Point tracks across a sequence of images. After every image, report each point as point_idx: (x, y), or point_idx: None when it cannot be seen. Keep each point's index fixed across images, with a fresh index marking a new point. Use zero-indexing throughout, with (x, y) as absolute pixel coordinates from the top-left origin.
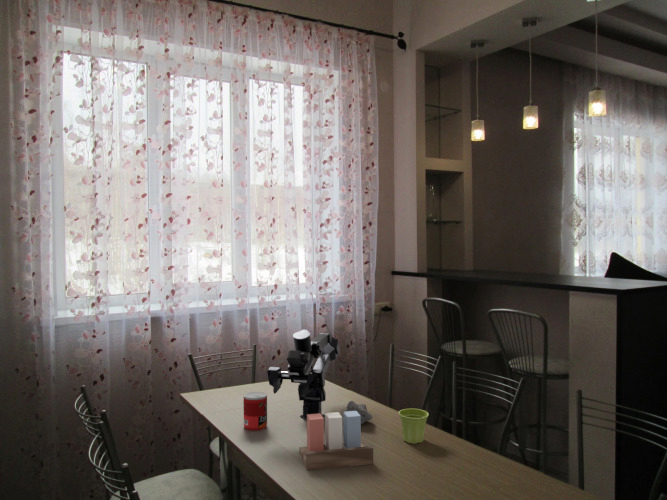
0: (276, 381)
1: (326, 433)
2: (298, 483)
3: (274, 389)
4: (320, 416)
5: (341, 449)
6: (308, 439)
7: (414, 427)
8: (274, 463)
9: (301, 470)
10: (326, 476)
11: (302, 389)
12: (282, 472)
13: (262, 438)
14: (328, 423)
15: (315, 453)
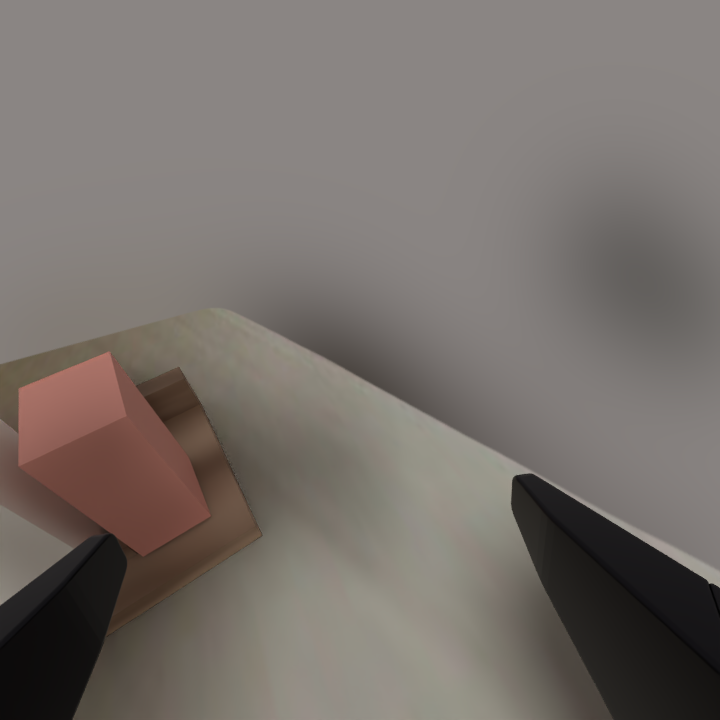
0: (706, 634)
1: (63, 516)
2: (213, 341)
3: (532, 485)
4: (31, 412)
5: None
6: (177, 458)
7: None
8: (324, 408)
9: (218, 398)
10: None
11: (65, 582)
12: (274, 370)
13: (560, 657)
14: (7, 431)
15: (146, 383)
